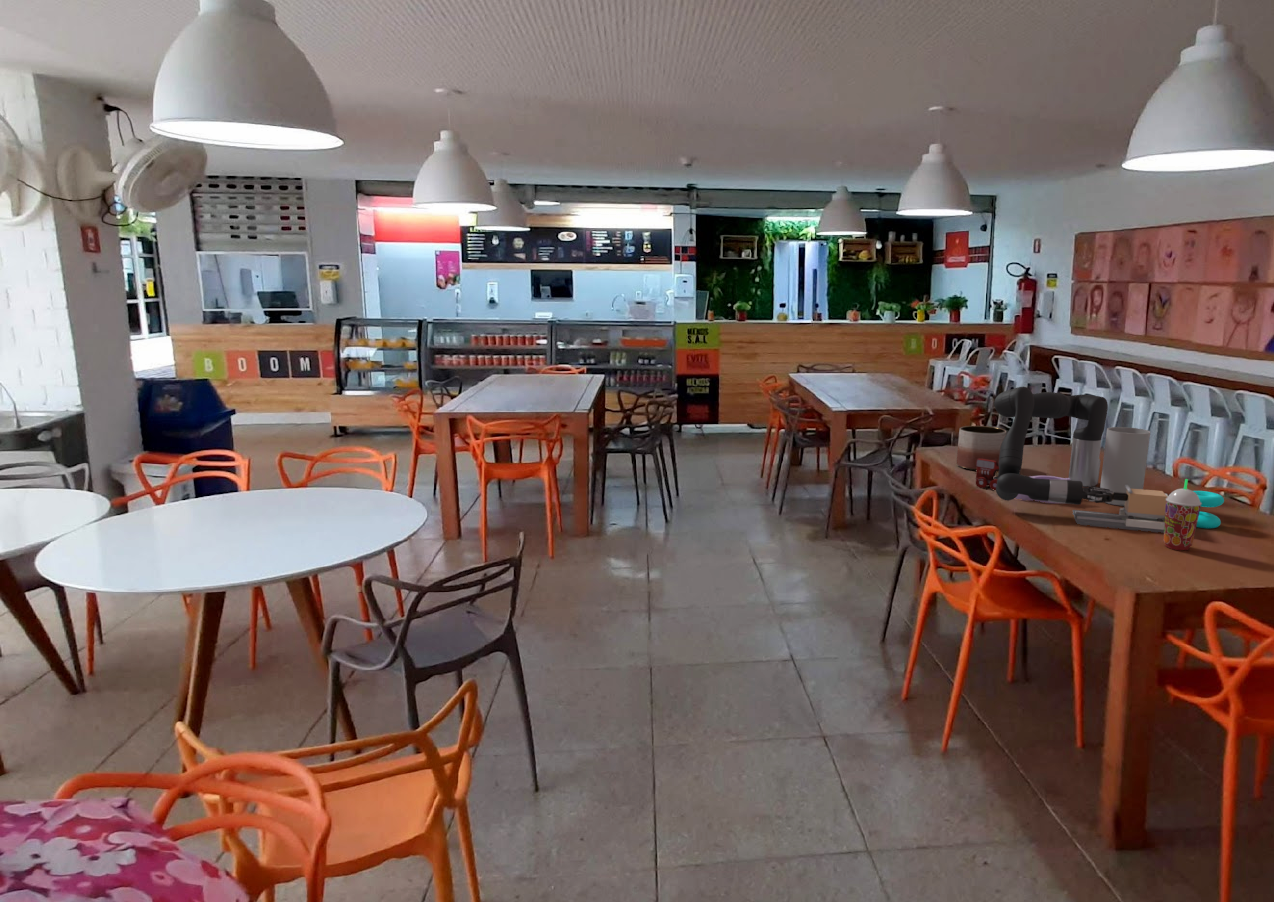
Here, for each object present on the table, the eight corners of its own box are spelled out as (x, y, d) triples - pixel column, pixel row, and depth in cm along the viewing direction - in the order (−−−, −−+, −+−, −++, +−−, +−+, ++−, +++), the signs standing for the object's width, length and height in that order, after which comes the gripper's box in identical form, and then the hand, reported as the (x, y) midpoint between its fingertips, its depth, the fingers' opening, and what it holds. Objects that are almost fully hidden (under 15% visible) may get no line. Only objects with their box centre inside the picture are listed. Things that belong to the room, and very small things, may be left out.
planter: (1006, 465, 330) (1010, 428, 326) (999, 474, 315) (1003, 435, 312) (961, 460, 339) (963, 424, 336) (952, 469, 324) (955, 430, 321)
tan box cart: (1121, 514, 254) (1125, 484, 252) (1159, 517, 250) (1163, 487, 248) (1125, 520, 247) (1128, 490, 245) (1164, 524, 243) (1168, 493, 241)
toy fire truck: (1005, 492, 288) (1007, 464, 286) (970, 486, 297) (973, 459, 295) (1012, 489, 293) (1015, 461, 291) (978, 483, 302) (980, 456, 299)
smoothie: (1152, 543, 232) (1161, 476, 228) (1179, 542, 232) (1189, 475, 228) (1174, 552, 224) (1183, 483, 219) (1202, 551, 224) (1212, 482, 220)
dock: (1072, 512, 263) (1075, 486, 261) (1162, 521, 253) (1166, 493, 251) (1076, 524, 250) (1079, 496, 248) (1171, 533, 240) (1175, 504, 238)
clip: (1012, 501, 277) (1014, 482, 275) (1005, 492, 289) (1007, 473, 287) (1076, 505, 272) (1078, 485, 271) (1066, 495, 284) (1068, 476, 283)
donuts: (1184, 488, 254) (1223, 492, 249) (1180, 518, 256) (1218, 523, 251) (1185, 495, 246) (1226, 499, 240) (1181, 526, 248) (1221, 531, 242)
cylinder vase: (1102, 505, 271) (1111, 432, 266) (1095, 496, 283) (1103, 426, 278) (1145, 508, 267) (1154, 434, 262) (1136, 499, 279) (1145, 428, 273)
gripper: (1067, 485, 249) (1132, 490, 243) (1064, 475, 261) (1125, 480, 254) (1065, 508, 251) (1129, 514, 244) (1061, 497, 263) (1122, 503, 256)
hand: (1127, 497), depth 249 cm, fingers closed
